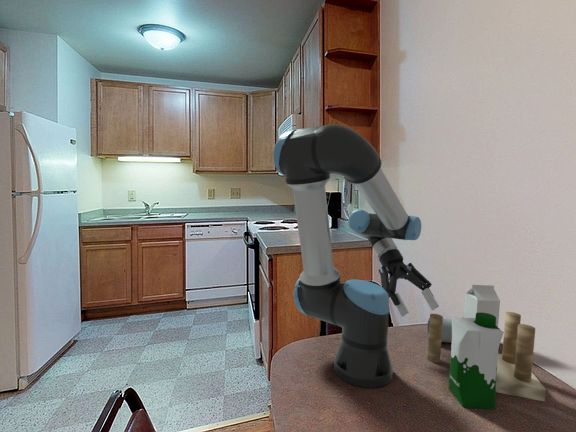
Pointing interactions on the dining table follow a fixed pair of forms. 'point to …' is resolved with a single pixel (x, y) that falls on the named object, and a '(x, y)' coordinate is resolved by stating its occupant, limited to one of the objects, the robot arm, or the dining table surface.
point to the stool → (518, 361)
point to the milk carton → (482, 301)
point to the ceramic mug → (445, 330)
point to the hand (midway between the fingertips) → (421, 311)
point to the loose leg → (435, 338)
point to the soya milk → (474, 360)
